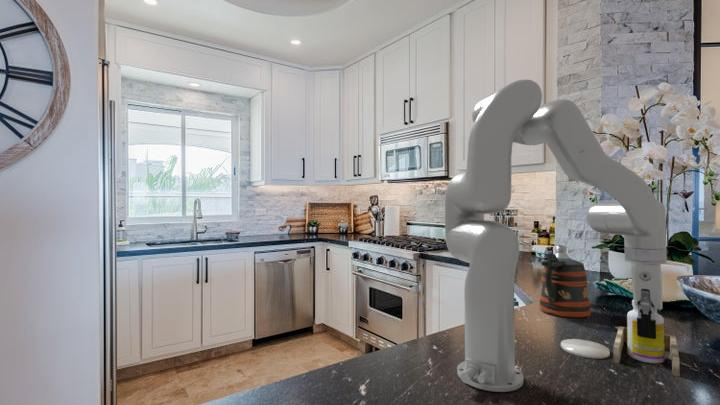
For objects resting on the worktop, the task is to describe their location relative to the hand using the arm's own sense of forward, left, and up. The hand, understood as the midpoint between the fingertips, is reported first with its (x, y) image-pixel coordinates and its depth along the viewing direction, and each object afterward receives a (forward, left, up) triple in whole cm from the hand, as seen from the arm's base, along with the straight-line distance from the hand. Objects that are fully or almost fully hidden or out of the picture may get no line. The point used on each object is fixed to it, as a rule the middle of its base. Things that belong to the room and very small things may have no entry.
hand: (646, 330), depth 83 cm
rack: (+1, 0, -6) cm, 6 cm away
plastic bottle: (+43, +25, -6) cm, 50 cm away
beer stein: (+27, +22, -6) cm, 35 cm away
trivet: (-3, +12, -6) cm, 14 cm away
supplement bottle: (0, 0, -6) cm, 6 cm away
